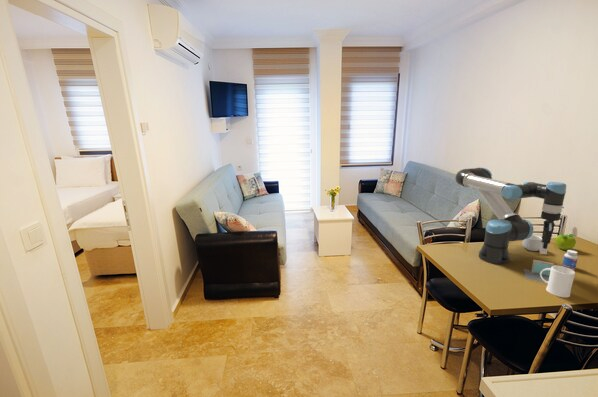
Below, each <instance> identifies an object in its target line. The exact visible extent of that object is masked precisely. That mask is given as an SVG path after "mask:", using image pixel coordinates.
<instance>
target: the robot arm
mask: <svg viewBox="0 0 598 397" xmlns="http://www.w3.org/2000/svg"><path fill="white" fill-rule="evenodd" d="M492 176H493V174H492V172H491V171H490V170H489V169H488V168H485V167H476V168H475V167H472V168H463V169H461V170H459V171H458V172H457V173H456V174H455V177H454V178H455V182H456V183H457V185H458V186H461V187H463V188H472V189H473V191H478V193H479V194H480V196H481V197H482V198H483V199H484V201H485V203H487V205H488V207H489V208H490V209H491V211H492V212H493V214H494V215H495V216H496V218H495V219H494V218H493V219H490V220H489V221H487V224H486V226H485V231H484V232H485V233H484V241H483V245H482V247H481V249H480V250H479V252H478V257H479V259H481V260H482V261H484V262H487V263H490V264H494V265H507V264H509V263H510V254H509V249H508V247H509V243H510V242H517V241H523V240H524V239H528V238H530V237H531V236H532V235H534V234H533V233H534V225H533V224H532V223H531V222H530V221H529V220H527V219H523V218H522V217H521V215H520V214H518V213H515V212H513V210H512V208H510V206H509V205H508V204H507V202H506V201H505V200H504V198H505V199H507V200H519V199H520V200H521V199H528V198H538V199H542V200H543V203H542V208H541V210H542V211H541V215H540V217H541V219H542V220H543V228H542V235H541V236H542V241H541V242H542V244H541V249H540V250H539V254H543V255H547V254H548V250H549V249H548V248H549V246H550V244H551V240H552V237H553V232H554V230H555V228H554V227H555V225H556V224H555V222H558V221H560V219H561V216H562V211H563V209H565V208H564V199H565V196H566V193H567V184H566V183H565V182H559V181H549V182H547V183H546V184H545V183H544V184H543V183H538V182H535V181H534V182H533V181H525V182H523V183H522V184H521V183H520V184H516V183H512V182H511V183H510V182H506V181H502V180H497V179H493V177H492ZM502 196H503V197H504V198H503V197H502Z"/></svg>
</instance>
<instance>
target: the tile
mask: <svg viewBox="0 0 598 397" xmlns="http://www.w3.org/2000/svg"><path fill="white" fill-rule="evenodd" d="M552 266H555V264H554V262H549V261H546V260H545V261H544V260H537V259H533V260H532V266H531V272H532V273H537V274H540V273H541V271H542V270H543V269H546V268H551V267H552ZM550 272H551V271H550V270H545V271H543V272H542V275H547V276H550Z"/></svg>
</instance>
